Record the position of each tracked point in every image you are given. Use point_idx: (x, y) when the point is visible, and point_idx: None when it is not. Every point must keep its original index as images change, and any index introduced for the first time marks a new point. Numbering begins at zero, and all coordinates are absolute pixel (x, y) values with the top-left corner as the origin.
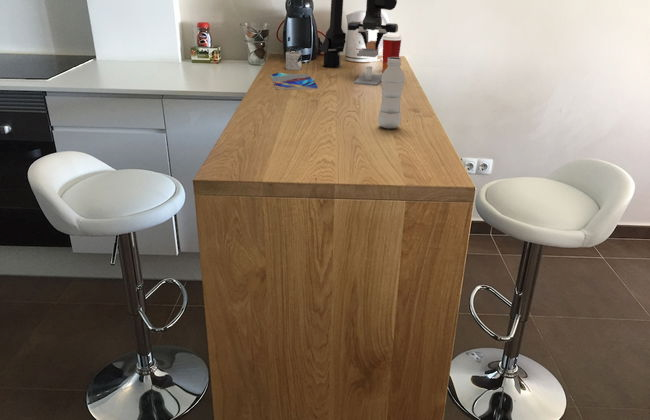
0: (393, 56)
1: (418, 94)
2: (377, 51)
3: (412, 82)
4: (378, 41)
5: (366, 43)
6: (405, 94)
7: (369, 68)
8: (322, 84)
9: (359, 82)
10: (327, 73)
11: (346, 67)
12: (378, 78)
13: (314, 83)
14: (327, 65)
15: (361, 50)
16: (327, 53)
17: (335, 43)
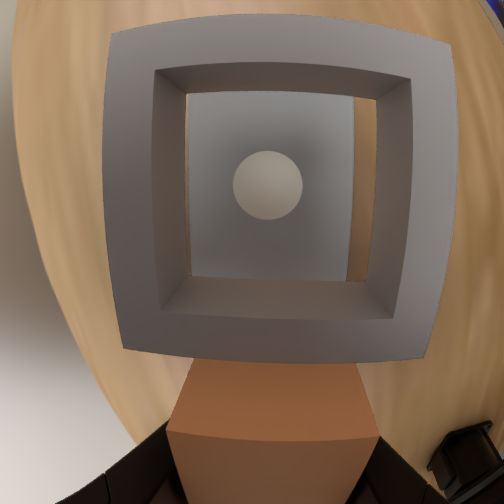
0: None
1: (15, 48)
2: (120, 251)
3: (49, 272)
4: (105, 484)
5: (372, 466)
6: (54, 13)
7: (255, 153)
8: (483, 50)
9: (314, 93)
10: (500, 323)
11: (407, 459)
12: (214, 271)
13: (499, 17)
14: (478, 431)
15: (412, 66)
16: (497, 463)
17: (495, 499)
